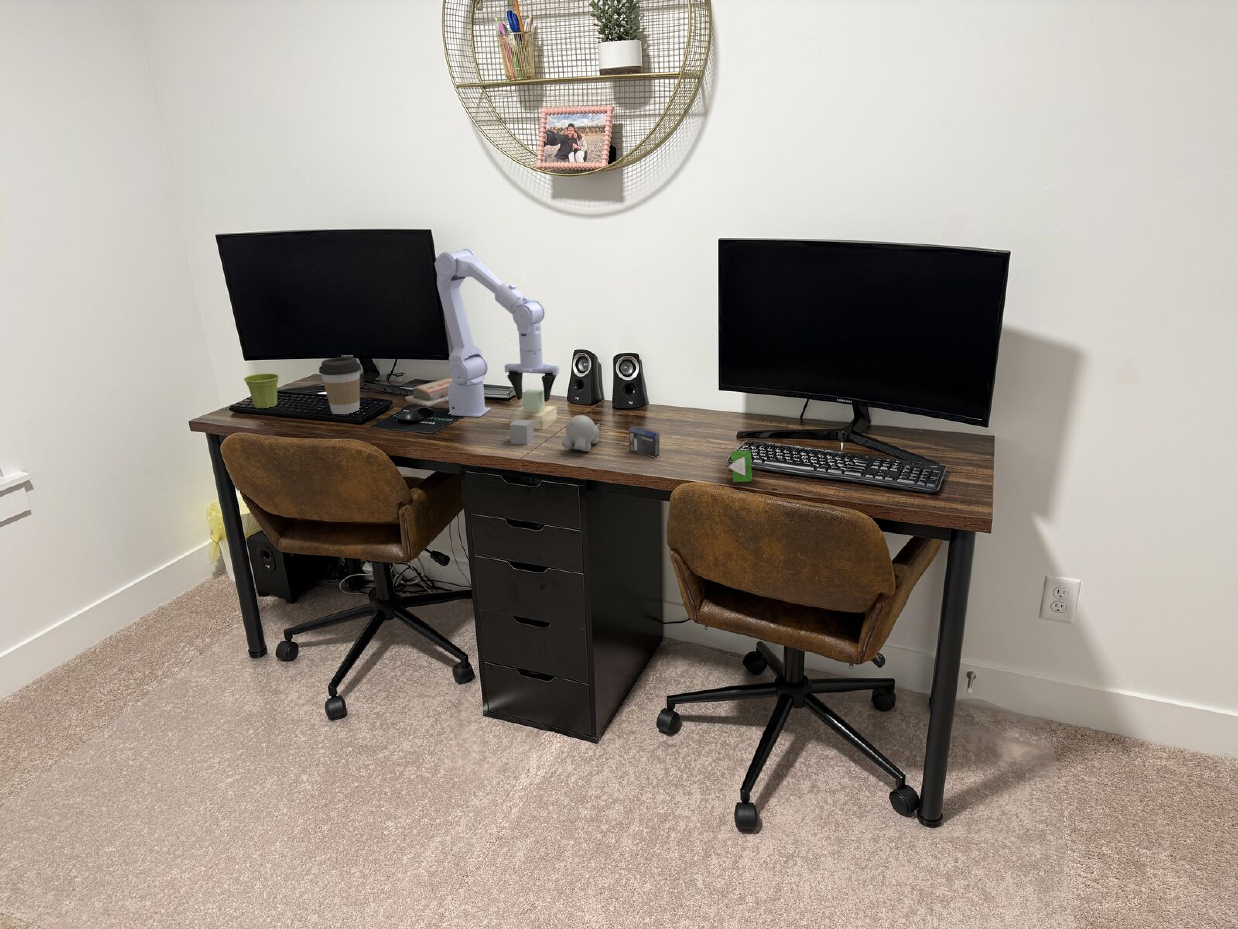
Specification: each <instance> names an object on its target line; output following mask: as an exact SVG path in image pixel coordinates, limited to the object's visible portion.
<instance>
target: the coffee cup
mask: <svg viewBox="0 0 1238 929" xmlns="http://www.w3.org/2000/svg"><path fill="white" fill-rule="evenodd" d="M318 370H319V371H318V373H319V374H321V378H322V381H323V385H324V390H325V393H326V396H327V399H328V400H327V401H328V403H329V407H330V411H331V413H332V415H333V414H349V413H353V412H355V411H358V410H359V411H360V409H361V408H360V402H361V399H360V393H361V391H360V387H361V385H360V384H361V383H360V382H361V379H360V378H361V376H360V375H361V374H360V373H361V372H360V371H361V370H362V366H361V364H360V363H359V362H358V360H357V359H356V358H355V357H351V356H338V357H333V358H327V359H325V360H322V361H321V364H320V366H319V368H318ZM359 408H360V409H359Z"/></svg>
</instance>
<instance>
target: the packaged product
mask: <svg viewBox="0 0 1238 929" xmlns="http://www.w3.org/2000/svg"><path fill="white" fill-rule="evenodd" d="M452 381H454V380H453V379H452V377H451V376H450V377H448V378H447V377H446V378H443V379H439V380H436V381H432V382H428V383H425V384H421V385H417V386H415V387H413V388H412V395H408V396H405V400H406V402H408V403H412V404H416V405H420V406H424V405H425V406H426V407H430V406H432V405H433V406H434V405H436V404H439V403H443V402H446V401H447V402H448V401H449V400H448V387H449V384H450V383H451V382H452ZM425 406H424V407H425Z"/></svg>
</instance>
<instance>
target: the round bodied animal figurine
mask: <svg viewBox="0 0 1238 929" xmlns="http://www.w3.org/2000/svg"><path fill="white" fill-rule="evenodd" d="M600 426H601V423H597V424H595V422H594V421H593V420H592V419H591V418H590V417H589V416H587V415H583V414H578V415H575V416H573V417H571V418H570V419H569V420H568V422H567V423H566V427H565V434H566V435H565V437H564V438H563V440H562V442H561V446H562V447H564V448H566V449H571V450H580V451H582V452H591V449H592V445H594V444H596V443H598V441H599V435H600V430H599V428H600Z"/></svg>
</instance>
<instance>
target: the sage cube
mask: <svg viewBox="0 0 1238 929" xmlns="http://www.w3.org/2000/svg"><path fill="white" fill-rule="evenodd" d="M521 402H522V403H521V405H522V406H523V412H533V413H539V412H541V411H542V410H543V409H544V408H545V406H546V405H545V403H546V402H545V401H544V389H532V388H527V389H526V390H525V391H523V393H522V399H521Z"/></svg>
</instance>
